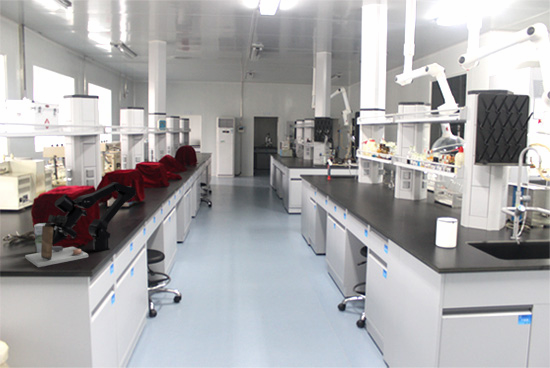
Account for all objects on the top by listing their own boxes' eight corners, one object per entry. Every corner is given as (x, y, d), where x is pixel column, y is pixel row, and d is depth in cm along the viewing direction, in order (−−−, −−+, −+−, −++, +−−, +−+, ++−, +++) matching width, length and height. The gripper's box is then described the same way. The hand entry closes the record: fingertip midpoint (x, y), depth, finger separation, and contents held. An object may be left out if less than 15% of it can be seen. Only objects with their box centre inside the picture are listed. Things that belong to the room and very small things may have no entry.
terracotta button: (79, 252, 201) (79, 248, 200) (82, 253, 198) (82, 249, 198) (71, 253, 198) (71, 249, 198) (74, 255, 196) (74, 251, 195)
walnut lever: (45, 257, 193) (47, 221, 193) (52, 259, 189) (54, 223, 189) (40, 258, 191) (41, 222, 191) (46, 260, 187) (48, 223, 187)
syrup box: (53, 250, 212) (51, 222, 210) (47, 253, 206) (45, 225, 204) (41, 250, 212) (39, 222, 210) (35, 253, 206) (33, 225, 204)
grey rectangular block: (59, 249, 207) (59, 246, 207) (62, 250, 205) (63, 247, 205) (50, 249, 203) (50, 246, 203) (53, 250, 201) (53, 247, 201)
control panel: (73, 249, 213) (73, 245, 213) (88, 257, 199) (88, 252, 199) (25, 258, 198) (25, 254, 197) (37, 267, 184) (37, 262, 183)
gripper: (49, 206, 199) (26, 233, 192) (68, 210, 188) (45, 238, 180) (66, 219, 206) (45, 245, 199) (86, 224, 195) (64, 252, 188)
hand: (49, 245), depth 191 cm, fingers closed, pressing on walnut lever
